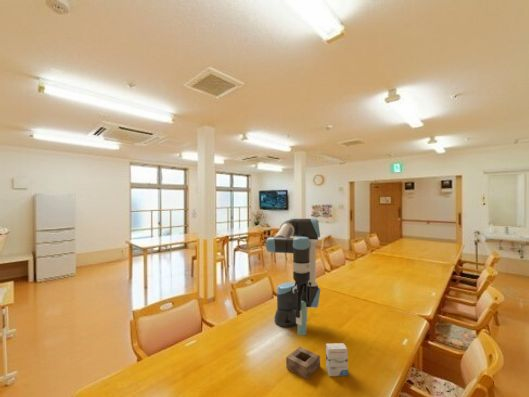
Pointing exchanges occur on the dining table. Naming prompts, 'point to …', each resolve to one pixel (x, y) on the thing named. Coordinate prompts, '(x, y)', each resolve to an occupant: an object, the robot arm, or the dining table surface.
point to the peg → (302, 327)
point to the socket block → (303, 362)
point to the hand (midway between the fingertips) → (301, 322)
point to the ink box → (337, 359)
